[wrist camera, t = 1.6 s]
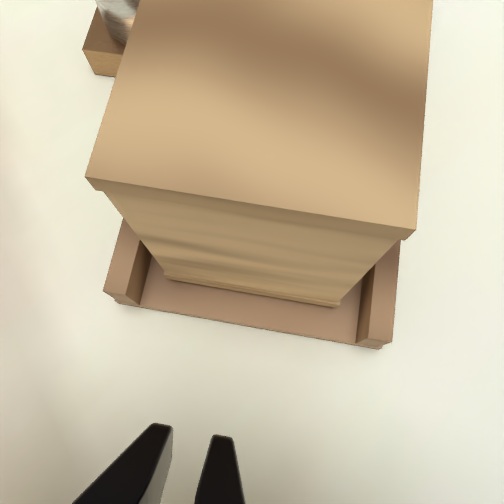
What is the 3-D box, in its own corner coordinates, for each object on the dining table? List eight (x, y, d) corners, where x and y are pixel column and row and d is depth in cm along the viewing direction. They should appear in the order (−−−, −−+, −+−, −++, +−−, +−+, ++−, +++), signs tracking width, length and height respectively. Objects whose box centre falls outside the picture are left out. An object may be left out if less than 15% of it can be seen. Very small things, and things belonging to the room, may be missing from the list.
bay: (378, 349, 22) (429, 333, 15) (118, 303, 22) (64, 269, 16) (409, 14, 27) (455, -98, 21) (202, -13, 28) (187, -129, 22)
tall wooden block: (335, 309, 21) (416, 229, 11) (168, 280, 22) (84, 176, 11) (354, 158, 24) (435, -32, 13) (202, 135, 24) (161, -67, 13)
